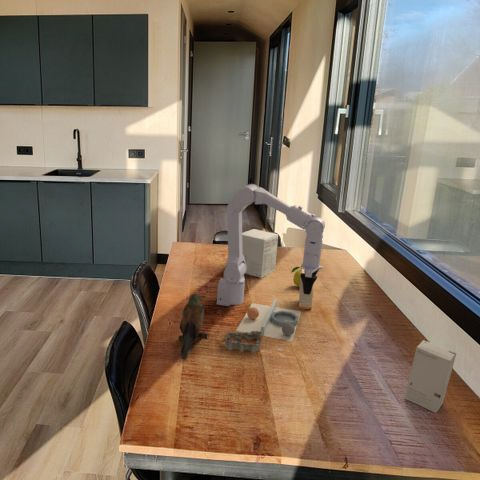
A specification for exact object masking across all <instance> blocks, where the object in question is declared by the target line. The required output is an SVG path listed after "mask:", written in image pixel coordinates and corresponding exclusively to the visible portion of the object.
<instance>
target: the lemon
mask: <svg viewBox="0 0 480 480" xmlns="http://www.w3.org/2000/svg"><path fill="white" fill-rule="evenodd" d="M298 269H299V270H298ZM302 269H303V267H302V264H301V265H300V266H295V267H293V268H292V270H291V272H290V273H294V272H295V273H294V275H293V279H292V280H293V281H292V282H293V284H294V285H295V286H297V287H298V288H300V273H301V270H302Z"/></svg>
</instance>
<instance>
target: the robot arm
mask: <svg viewBox="0 0 480 480" xmlns="http://www.w3.org/2000/svg"><path fill="white" fill-rule="evenodd" d="M253 203H254V205H264V204H265V205H267V206H269V207H271V208H272V209H274V210H276V211H278V212H280V213H281V214H283V215H285V217H286V221H289V222H290V223H292V224H294V225H295V226H297V227H298V228H300V229H302V230H305V233H306V237H305V240H304V241H305V242H304V250H303V257H302V263H301V265H302V269H304V271H305V273H301V274H300V277H301V279H302V283H303V292H304V294H308V295H310V293H311V290H312V287H313V288H314V283H315V282H316V281H317V279H318V275H317V274H318V272H319V271H320V270H323V269H324V266H323V265H320V264H321V256H322V249H323V248H322V247H323V239H324V235H323V234H324V231H325V227H326V223H325V221H324V219H323V218H322V217H321V216H320V215H319V216H318V215H316V214H314V213H310V212H308V211H307V210H305V209H303V206H302V205H298V206H297V205H289V204H288V203H286V202H285V201H283V200H281V198H278V197H277V196H275V195H274V194H272V193H271V192H269V191H267V190H266V189H265V188H264V187H261V186H258V185H257V184H255V183H248V184H247V185H245V186H242V187H240V188H238V190H236V191H235V192H234V194H233V196H232V197H231V199H230V200H229V203H228V204H227V207H226V213H227V214H226V218H227V219H226V221H227V223H226V224H227V226H226V227H227V252H228V253H227V254H228V255H227V259H226V263H225V268H224V270H223V278H219V281H218V285H217V296H216V297H217V299H216V305H218V306H225V307H230V306H236V305H241V304H243V303H244V298H245V286H246V285H245V284H246V279H245V273H246V272H247V265H246V263H245V257H244V256H243V249H242V233H243V211H244V210H245V209H246V208H247V207H248V206H250V205H252V204H253Z"/></svg>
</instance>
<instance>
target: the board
mask: <svg viewBox="0 0 480 480" xmlns="http://www.w3.org/2000/svg"><path fill="white" fill-rule="evenodd" d="M251 307H255V308H257V309H258V311H259V316H258V317H257V318H256V319H250V318H249V317H248V315H247V312H246V313H245V315H244V316H243V318H242V320H241V321H240V323H239V325H238V326H237V328H236V329H235V332H241V333H246V332H249V333H251V331H258V332H261V326H262V324H263V322H264V320H265V318H266V316H267V314H268V312H269V310H270V308H271V305H266V304H261V303H255V302H254V303H253V302H252V303H251V304H250V307H249V308H251ZM278 311H286V312H292V313H294V314H295V315H297V316H298V317H299V318H298V322H299V320H300V317H301V314H302V311H301V310H295V309H290V308H284V307H279V306H277V307H276V310H275V312H278ZM297 327H298V324H297V325H296V326H294V328H295V331H294V333H293V334H292V335H290V336H287V335H285V334H284V333H283V332H282V327H281V326H278V325H276V324H274V323H273V322H272V321H270V323H269V325H268V328H267V330H266V332H265V334H264V336H263V337H267V338H272V339H277V340H283V341H288V342H293V341H294V337H295V334H296V330H297Z"/></svg>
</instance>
